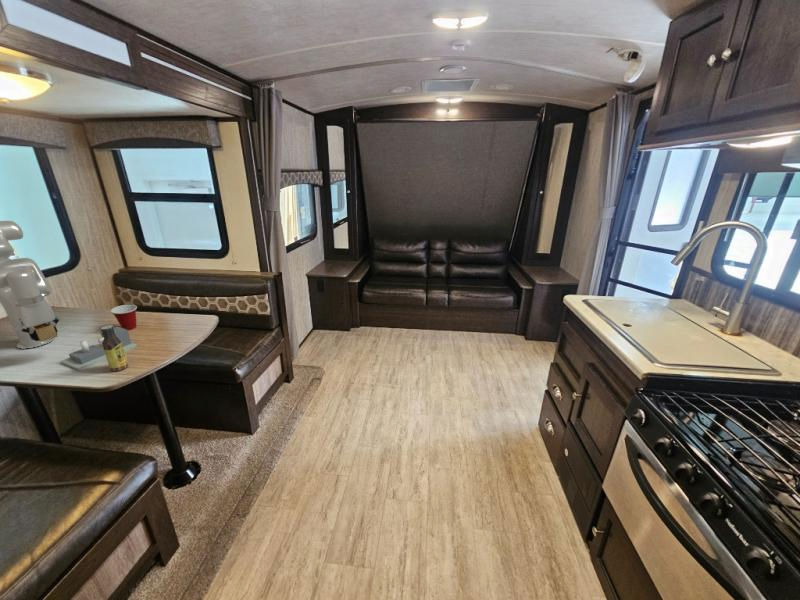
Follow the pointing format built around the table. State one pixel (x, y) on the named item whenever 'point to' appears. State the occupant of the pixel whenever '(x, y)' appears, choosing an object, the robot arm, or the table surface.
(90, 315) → the table surface
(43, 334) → the hollow wooden square tube
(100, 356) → the coupling rig
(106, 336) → the sauce bottle
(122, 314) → the plastic cup
